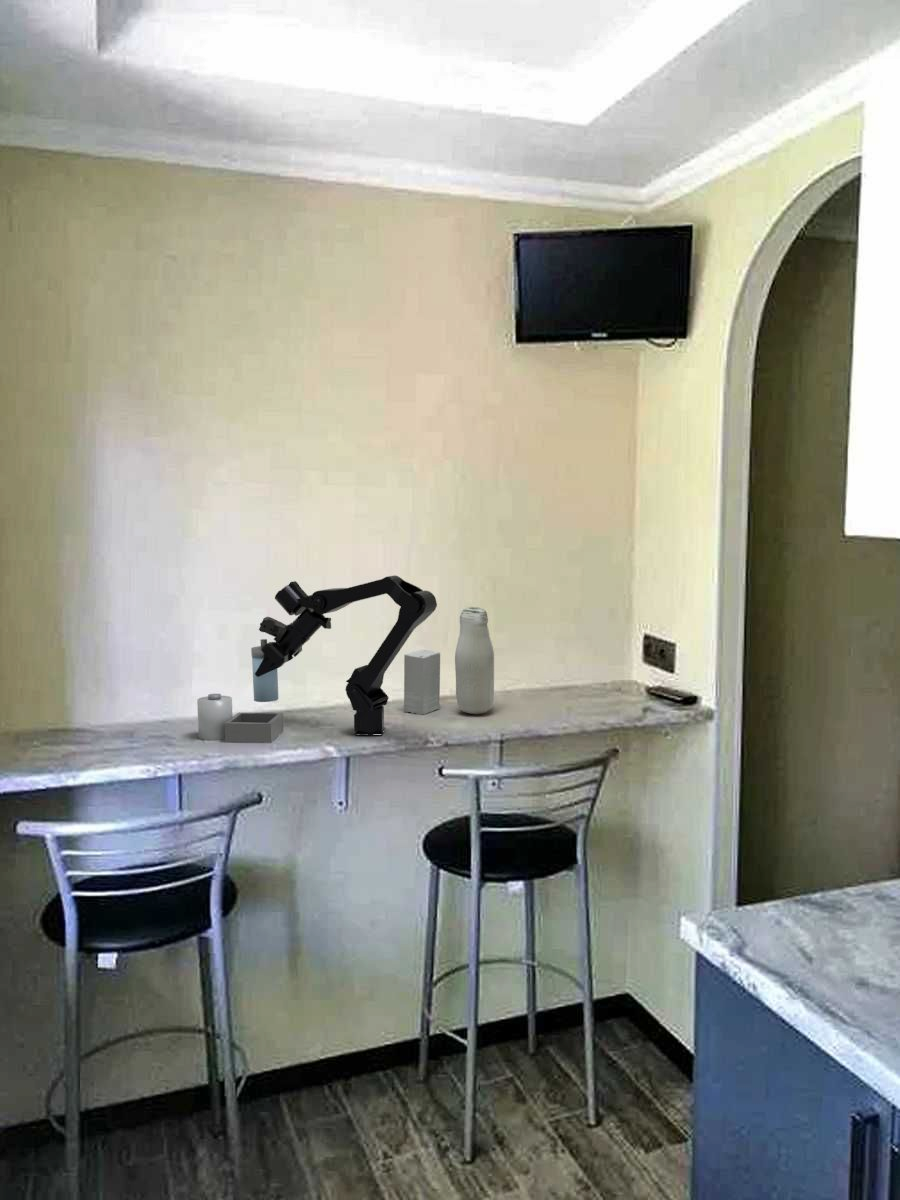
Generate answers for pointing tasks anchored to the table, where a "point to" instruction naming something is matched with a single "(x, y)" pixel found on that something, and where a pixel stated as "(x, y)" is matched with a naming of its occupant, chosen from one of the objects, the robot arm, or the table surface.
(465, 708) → the glass bottle
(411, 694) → the skincare box
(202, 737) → the jar and tray set
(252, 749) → the table surface
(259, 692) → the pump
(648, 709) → the table surface
